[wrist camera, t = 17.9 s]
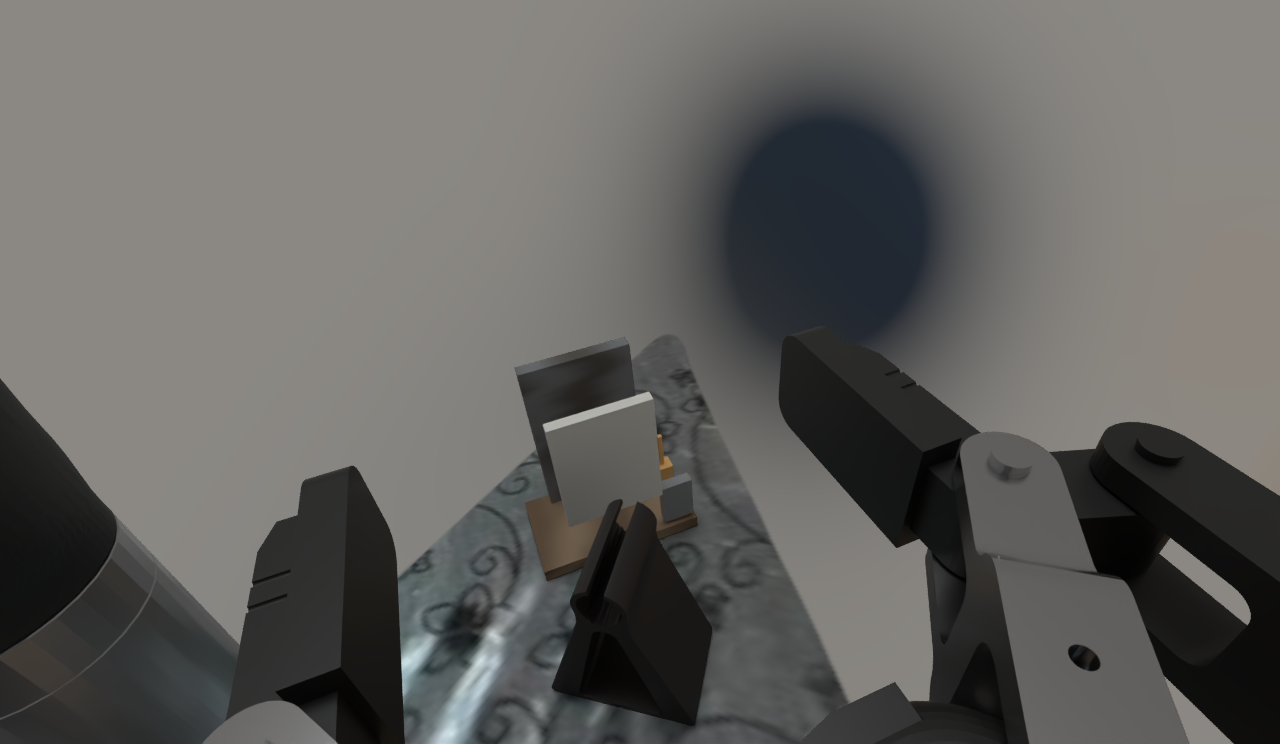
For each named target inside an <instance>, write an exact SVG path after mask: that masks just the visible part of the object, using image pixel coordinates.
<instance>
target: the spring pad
mask: <svg viewBox="0 0 1280 744" xmlns="http://www.w3.org/2000/svg"><path fill="white" fill-rule="evenodd" d="M543 428H544V432H545V436H546V440H547V444H548V448H549V451H550V455H551V459H552V463H553V467H554V471H555V475H556V479H557V483H558V487H559V491H560V495H561V499H562V503H563V507H564V511H565V515H566V519H567V522H568V525H569V527H572V526H575V525H578V524H581V523H584V522H587V521H589V520H592V519H595V518H598V517H601V516H604V514H605V512H606V509H607V507H608V505H609V504H610V503H611V502H612V501H614V500H617V499H622V501H623V505H622V507H621V509H624V508H626V507H629V506H632V505H635V504H636V503H637V501H638V502H640V503H641V502H643V501H646V500H649V499H652V498H655V497H658V496H660V505H661V515H662V517H663V519H664V521H665V522H668V521H671V520H673V519H676V518H679V517H682V516H684V515H687V514H690V513H693V496H692V480H691V478H690V476H689V475H688V473H684V474H681V475H678V476H675V477H672V478H669V479H667V480H664V481H661V472H660V462H659V451H658V441H657V431H656V421H655V411H654V401H653V398H652V396H651V394H650V393H649V392H646V393H643V394H640V395H636V396H633V397H630V398H627V399H623V400H620V401H617V402H614V403H610V404H607V405H604V406H601V407H597V408H594V409H591V410H588V411H584V412H581V413H578V414H575V415H571V416H568V417H565V418H561V419H558V420H555V421H552V422H548V423H545V424H543Z"/></svg>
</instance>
